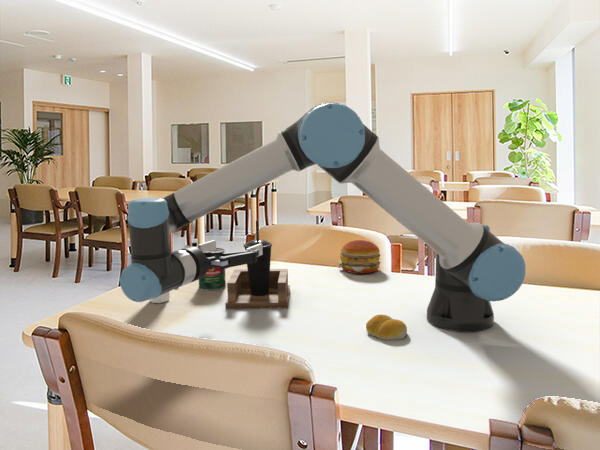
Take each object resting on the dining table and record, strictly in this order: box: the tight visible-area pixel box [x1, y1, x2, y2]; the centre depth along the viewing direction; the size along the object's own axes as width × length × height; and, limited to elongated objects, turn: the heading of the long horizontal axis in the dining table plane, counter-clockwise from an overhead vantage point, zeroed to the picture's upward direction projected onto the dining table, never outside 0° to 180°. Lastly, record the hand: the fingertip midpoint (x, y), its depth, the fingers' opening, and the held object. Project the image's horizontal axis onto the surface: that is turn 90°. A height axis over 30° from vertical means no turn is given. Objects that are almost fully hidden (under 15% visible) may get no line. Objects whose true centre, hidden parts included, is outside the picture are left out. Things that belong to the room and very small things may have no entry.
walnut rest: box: [224, 268, 291, 310], centre depth 142 cm, size 16×16×6 cm
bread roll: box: [365, 314, 408, 341], centre depth 116 cm, size 8×9×4 cm
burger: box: [338, 239, 382, 274], centre depth 170 cm, size 13×14×10 cm
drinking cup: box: [243, 220, 273, 296], centre depth 140 cm, size 8×8×20 cm
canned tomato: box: [198, 247, 227, 292], centre depth 153 cm, size 8×8×11 cm
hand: (237, 247), depth 131 cm, fingers open, 13 cm apart
